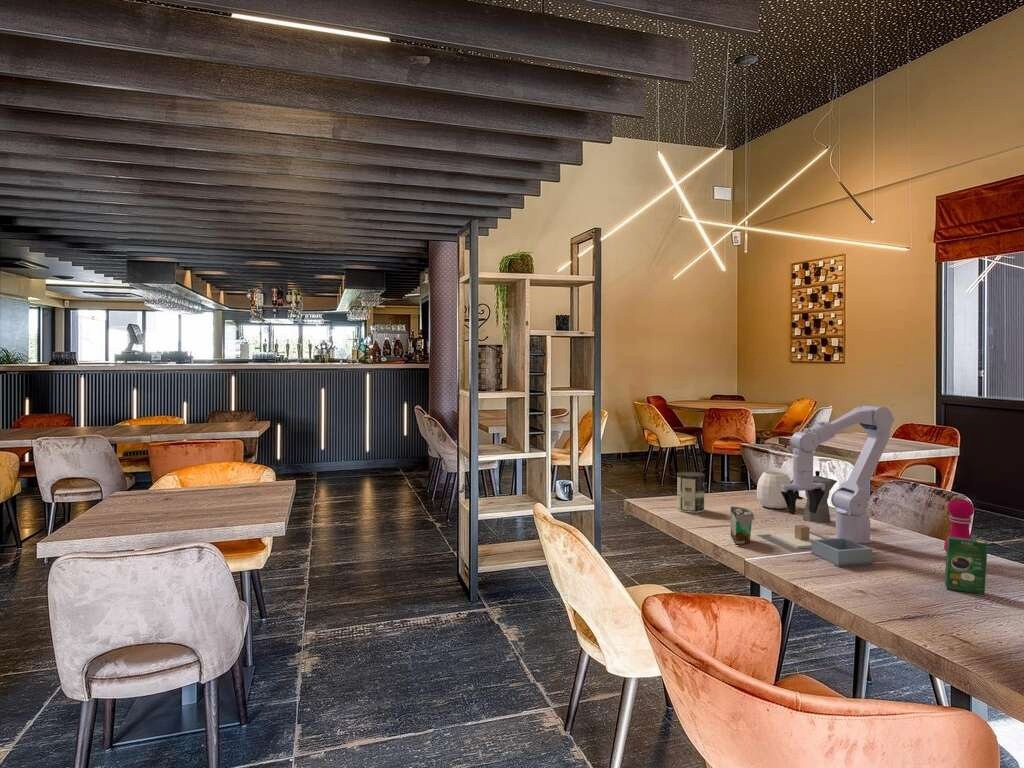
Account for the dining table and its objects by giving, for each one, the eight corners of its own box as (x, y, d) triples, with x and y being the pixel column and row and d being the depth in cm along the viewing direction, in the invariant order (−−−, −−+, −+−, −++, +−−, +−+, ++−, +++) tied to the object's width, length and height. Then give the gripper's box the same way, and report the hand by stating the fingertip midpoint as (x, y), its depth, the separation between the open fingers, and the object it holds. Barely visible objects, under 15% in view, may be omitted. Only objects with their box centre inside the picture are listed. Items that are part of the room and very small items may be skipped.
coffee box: (983, 591, 152) (985, 539, 152) (986, 595, 150) (987, 542, 149) (944, 586, 156) (945, 535, 155) (946, 589, 153) (947, 538, 153)
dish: (843, 552, 183) (843, 537, 183) (872, 564, 172) (872, 548, 172) (811, 554, 181) (811, 539, 181) (838, 567, 170) (838, 551, 170)
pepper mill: (966, 569, 168) (968, 497, 167) (938, 562, 174) (940, 492, 174) (980, 565, 171) (982, 495, 170) (952, 558, 178) (954, 490, 177)
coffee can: (699, 506, 240) (700, 471, 240) (707, 513, 230) (708, 476, 230) (673, 506, 241) (673, 471, 240) (680, 513, 230) (680, 476, 230)
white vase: (775, 512, 232) (776, 477, 231) (749, 504, 244) (749, 471, 243) (800, 509, 237) (801, 474, 237) (773, 501, 249) (774, 469, 249)
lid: (806, 534, 201) (806, 519, 201) (834, 546, 188) (834, 530, 188) (770, 536, 198) (771, 522, 198) (797, 548, 185) (797, 533, 185)
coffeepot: (832, 518, 223) (833, 469, 223) (840, 524, 214) (842, 473, 213) (787, 516, 226) (788, 467, 225) (793, 522, 217) (794, 472, 216)
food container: (757, 548, 187) (757, 516, 186) (736, 547, 188) (736, 515, 188) (749, 537, 199) (750, 506, 199) (730, 536, 200) (730, 506, 200)
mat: (810, 532, 204) (810, 531, 204) (850, 549, 186) (850, 547, 186) (756, 536, 200) (756, 535, 200) (792, 553, 182) (792, 551, 182)
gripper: (814, 467, 198) (813, 508, 198) (774, 469, 195) (773, 511, 195) (830, 471, 191) (829, 514, 191) (788, 473, 188) (788, 516, 188)
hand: (802, 513), depth 193 cm, fingers open, 7 cm apart
